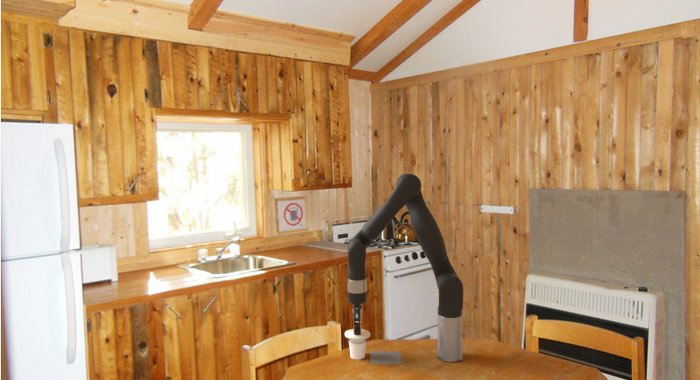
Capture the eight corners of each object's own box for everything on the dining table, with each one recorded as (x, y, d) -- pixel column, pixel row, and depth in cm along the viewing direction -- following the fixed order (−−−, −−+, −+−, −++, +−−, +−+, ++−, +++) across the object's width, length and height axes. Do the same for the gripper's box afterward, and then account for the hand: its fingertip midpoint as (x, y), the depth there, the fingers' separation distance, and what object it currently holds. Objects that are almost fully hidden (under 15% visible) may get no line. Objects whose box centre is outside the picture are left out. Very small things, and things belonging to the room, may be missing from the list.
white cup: (366, 361, 195) (366, 343, 195) (348, 361, 195) (348, 343, 195) (366, 354, 202) (366, 337, 201) (349, 354, 202) (348, 337, 202)
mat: (400, 352, 203) (400, 351, 203) (402, 365, 191) (402, 364, 191) (370, 352, 203) (370, 351, 203) (370, 365, 191) (370, 363, 191)
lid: (370, 330, 203) (370, 318, 202) (370, 340, 193) (370, 326, 192) (345, 330, 203) (345, 317, 203) (343, 339, 193) (343, 326, 193)
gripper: (366, 295, 189) (366, 339, 191) (366, 285, 203) (367, 327, 205) (346, 295, 190) (347, 339, 191) (348, 285, 204) (348, 327, 205)
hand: (357, 333), depth 198 cm, fingers closed on lid, 3 cm apart
